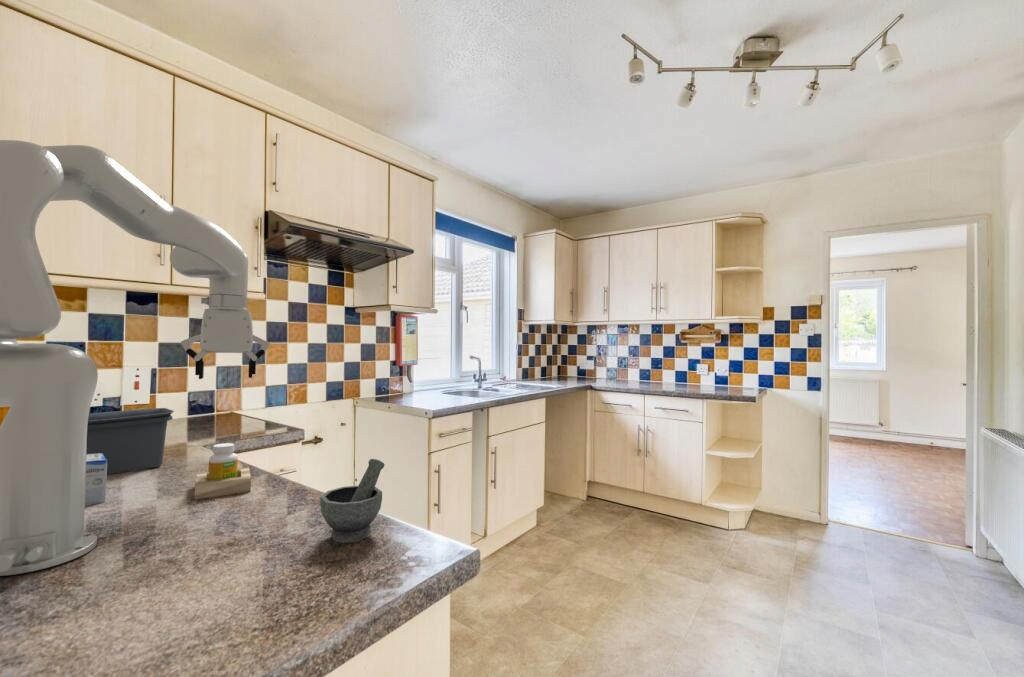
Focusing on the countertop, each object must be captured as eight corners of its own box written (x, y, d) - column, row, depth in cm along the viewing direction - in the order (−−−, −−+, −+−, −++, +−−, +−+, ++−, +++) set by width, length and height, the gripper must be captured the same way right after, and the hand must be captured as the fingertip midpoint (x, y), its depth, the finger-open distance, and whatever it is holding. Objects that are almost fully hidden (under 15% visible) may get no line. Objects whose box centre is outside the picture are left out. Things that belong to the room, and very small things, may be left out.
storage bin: (60, 486, 101) (62, 421, 101) (51, 473, 110) (53, 414, 111) (176, 467, 117) (177, 411, 117) (159, 457, 127) (161, 406, 127)
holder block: (250, 491, 98) (251, 477, 98) (194, 499, 93) (194, 484, 93) (248, 479, 107) (249, 467, 107) (197, 486, 101) (197, 472, 101)
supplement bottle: (223, 493, 96) (224, 448, 97) (201, 492, 98) (202, 446, 98) (242, 486, 102) (243, 443, 102) (222, 484, 103) (223, 441, 103)
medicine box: (72, 498, 93) (74, 455, 93) (101, 493, 96) (103, 452, 96) (75, 507, 87) (76, 462, 88) (106, 502, 91) (107, 458, 91)
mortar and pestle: (341, 553, 70) (343, 475, 70) (308, 537, 75) (309, 465, 75) (398, 529, 79) (400, 460, 79) (365, 517, 84) (366, 452, 85)
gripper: (180, 300, 97) (178, 380, 97) (271, 305, 106) (269, 378, 106) (184, 303, 104) (181, 377, 103) (269, 307, 112) (267, 376, 112)
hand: (226, 378), depth 104 cm, fingers open, 9 cm apart
